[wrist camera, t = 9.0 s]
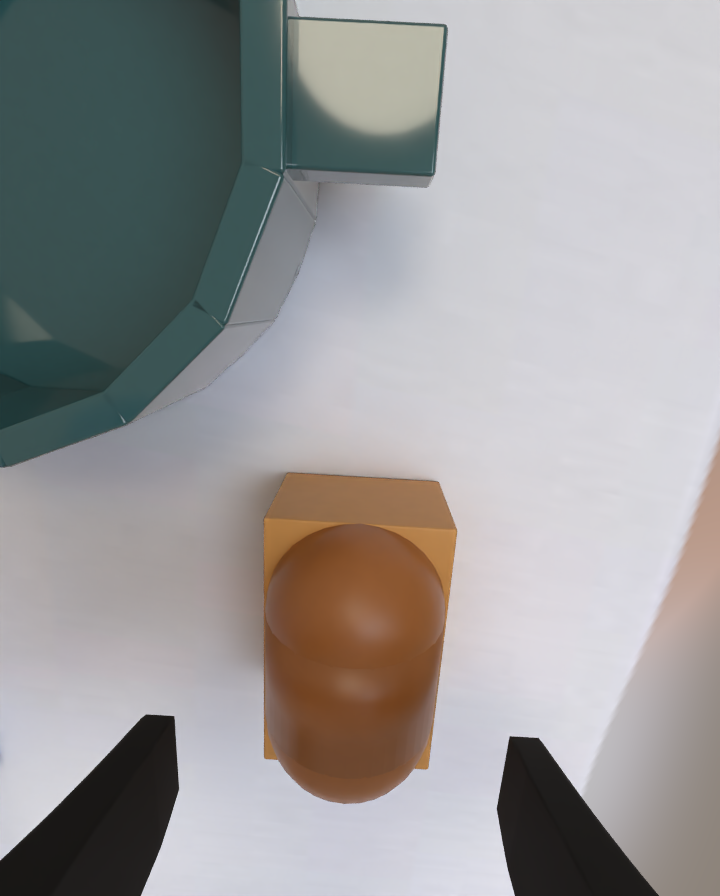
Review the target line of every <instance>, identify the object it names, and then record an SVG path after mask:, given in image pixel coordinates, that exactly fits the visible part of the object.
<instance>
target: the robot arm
mask: <svg viewBox="0 0 720 896" xmlns="http://www.w3.org/2000/svg"><path fill="white" fill-rule="evenodd" d="M178 791H179V782H178V766H177V751H176V736H175V720H174V716H162V715H145V716H144V717H142V718H141V719H140V720H139V721H138V722H137V724H136V725H135V726H134V727H133V728H132V729H131V730H130V731H129V732H128V733H127V734H126V735H125V736H124V738H123V739H122V740H121V741H120V742H119V743H118V744H117V745H116V746H115V747H114V748H113V749H112V750H111V751H110V753H109V754H108V755H107V756H106V757H105V758H104V759H103V760H102V761H101V762H100V763H99V764H98V765H97V766H96V767H95V768H94V769H93V770H92V772H91V773H90V774H89V775H88V776H87V777H86V778H85V779H84V780H83V781H82V782H81V783H80V784H79V785H78V786H77V787H76V788H75V789H74V790H73V791H72V792H71V793H70V794H69V795H68V796H67V797H66V798H65V799H64V800H63V801H62V802H61V803H60V804H59V805H58V806H57V807H56V808H55V809H54V810H53V811H52V812H51V813H50V814H49V815H48V816H47V817H46V818H45V819H44V820H43V821H42V822H41V823H40V824H39V825H38V826H37V827H35V828H34V829H33V830H32V831H31V832H30V833H29V834H28V835H27V836H26V837H25V838H24V839H23V840H22V841H21V842H20V843H18V844H17V845H16V846H15V847H14V848H13V849H12V850H11V851H10V852H9V853H8V854H7V855H6V856H5V857H4V858H3V859H2V860H0V896H141V894H142V891H143V889H144V887H145V884H146V882H147V879H148V877H149V875H150V872H151V870H152V867H153V865H154V863H155V860H156V858H157V855H158V853H159V850H160V848H161V845H162V842H163V839H164V836H165V833H166V830H167V827H168V823H169V820H170V817H171V814H172V811H173V807H174V804H175V801H176V797H177V794H178ZM497 812H498V818H499V824H500V830H501V835H502V841H503V846H504V852H505V857H506V862H507V867H508V871H509V875H510V879H511V883H512V886H513V890H514V893H515V896H659V895H658V894H657V893H656V892H655V891H654V889H653V888H652V887H651V886H650V885H649V883H648V882H647V881H646V880H645V879H644V877H643V876H642V875H641V874H640V872H639V871H638V870H637V869H636V867H635V866H634V865H633V864H632V863H631V861H630V860H629V859H628V858H627V856H626V855H625V854H624V852H623V851H622V850H621V849H620V847H619V846H618V845H617V843H616V842H615V841H614V840H613V838H612V837H611V836H610V834H609V833H608V832H607V831H606V829H605V828H604V827H603V825H602V824H601V823H600V821H599V820H598V819H597V817H596V816H595V815H594V814H593V812H592V811H591V809H590V808H589V807H588V806H587V804H586V803H585V801H584V800H583V799H582V797H581V796H580V795H579V793H578V792H577V790H576V789H575V788H574V786H573V785H572V784H571V782H570V781H569V779H568V778H567V777H566V775H565V774H564V772H563V771H562V770H561V768H560V767H559V765H558V764H557V763H556V761H555V760H554V758H553V757H552V756H551V754H550V753H549V751H548V750H547V749H546V747H545V746H544V744H543V743H542V742H541V741H540V739H539V738H528V737H512V736H510V738H509V744H508V749H507V755H506V760H505V766H504V771H503V777H502V783H501V788H500V794H499V799H498V805H497Z"/></svg>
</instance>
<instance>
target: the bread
mask: <svg viewBox="0 0 720 896" xmlns="http://www.w3.org/2000/svg"><path fill="white" fill-rule="evenodd" d="M456 537H457V529H456V526H455V524H454V521H453V518H452V516H451V513H450V510H449V508H448V505H447V502H446V500H445V497H444V495H443V492H442V489H441V487H440V484H439V482H434V481H418V480H401V479H384V478H368V477H351V476H334V475H318V474H301V473H287V475H286V477H285V478H284V480H283V482H282V484H281V486H280V488H279V490H278V492H277V494H276V496H275V498H274V500H273V502H272V504H271V506H270V508H269V510H268V512H267V514H266V516H265V518H264V758H265V759H274V760H278V761H279V762H280V764H281V765H282V767H283V768H284V770H285V771H286V772H287V773H288V775H289V776H290V777H291V778H292V779H293V780H294V781H295V782H296V783H298V784H299V785H300V786H301V787H302V788H303V789H304V790H306V791H308V792H309V793H311V794H312V795H314V796H316V797H319V798H321V799H324V800H327V801H330V802H337V803H343V804H349V803H362V802H366V801H370V800H374V799H376V798H378V797H381V796H383V795H385V794H387V793H388V792H390V791H391V790H392V789H394V788H395V787H396V786H398V785H399V784H400V783H401V782H403V781H404V780H405V779H406V778H407V777H408V775H409V774H410V773H411V772H412V771H413V770H414V769H428V765H429V757H430V749H431V741H432V733H433V724H434V716H435V708H436V700H437V692H438V684H439V676H440V667H441V659H442V651H443V643H444V635H445V627H446V618H447V610H448V602H449V594H450V586H451V578H452V569H453V561H454V553H455V545H456Z"/></svg>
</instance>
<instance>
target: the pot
mask: <svg viewBox="0 0 720 896" xmlns="http://www.w3.org/2000/svg"><path fill="white" fill-rule="evenodd" d="M447 36H448V28H447V25H445V24H431V23H412V22H392V21H373V20H354V19H334V18H315V17H299V14H298V10H297V6H296V2H295V0H0V467H4V468H5V467H12V466H14V465H17V464H20V463H23V462H26V461H28V460H31V459H34V458H37V457H40V456H42V455H45V454H48V453H51V452H54V451H56V450H59V449H62V448H65V447H68V446H70V445H73V444H76V443H79V442H82V441H84V440H87V439H90V438H93V437H96V436H98V435H101V434H104V433H107V432H110V431H112V430H115V429H118V428H121V427H124V426H126V425H128V424H131V423H133V422H135V421H137V420H139V419H141V418H143V417H145V416H147V415H149V414H151V413H154V412H156V411H158V410H160V409H162V408H164V407H166V406H168V405H170V404H172V403H174V402H176V401H179V400H181V399H183V398H185V397H187V396H189V395H191V394H193V393H195V392H197V391H199V390H202V389H204V388H205V387H207V386H209V385H210V384H211V383H212V382H213V381H214V380H215V379H216V378H217V377H218V376H219V375H220V374H221V373H222V372H223V371H224V370H226V369H227V368H228V367H229V366H230V365H231V364H233V363H234V362H235V361H236V360H237V359H239V358H240V357H241V356H242V355H243V354H245V353H246V351H247V350H248V349H249V348H250V347H251V346H252V345H253V344H254V343H255V341H256V340H257V339H258V338H259V337H260V336H261V335H262V334H263V332H264V331H265V330H267V329H268V328H269V327H270V326H271V325H272V324H273V323H274V321H275V320H274V319H276V318H277V316H278V314H279V311H280V309H281V307H282V305H283V304H284V302H285V300H286V298H287V296H288V294H289V292H290V290H291V287H292V285H293V283H294V281H295V279H296V277H297V275H298V273H299V270H300V267H301V264H302V262H303V259H304V256H305V253H306V250H307V247H308V244H309V241H310V237H311V234H312V232H313V229H314V227H315V220H316V218H317V200H318V189H319V182H329V183H347V184H366V185H384V186H402V187H421V188H427V187H429V185H430V183H431V181H432V179H433V177H434V175H435V172H436V161H437V149H438V138H439V127H440V115H441V104H442V93H443V81H444V70H445V59H446V47H447Z"/></svg>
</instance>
